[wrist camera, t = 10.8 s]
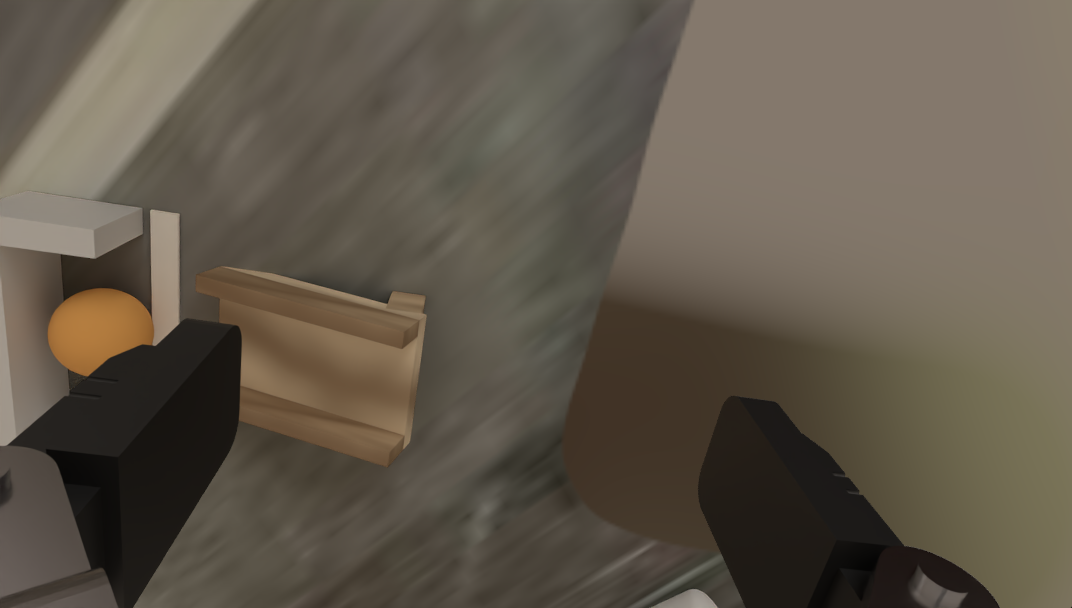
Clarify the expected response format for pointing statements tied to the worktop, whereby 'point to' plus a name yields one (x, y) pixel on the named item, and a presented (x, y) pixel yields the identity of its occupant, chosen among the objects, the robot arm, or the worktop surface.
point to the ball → (97, 328)
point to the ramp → (324, 360)
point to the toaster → (688, 600)
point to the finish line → (165, 272)
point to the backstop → (44, 291)
